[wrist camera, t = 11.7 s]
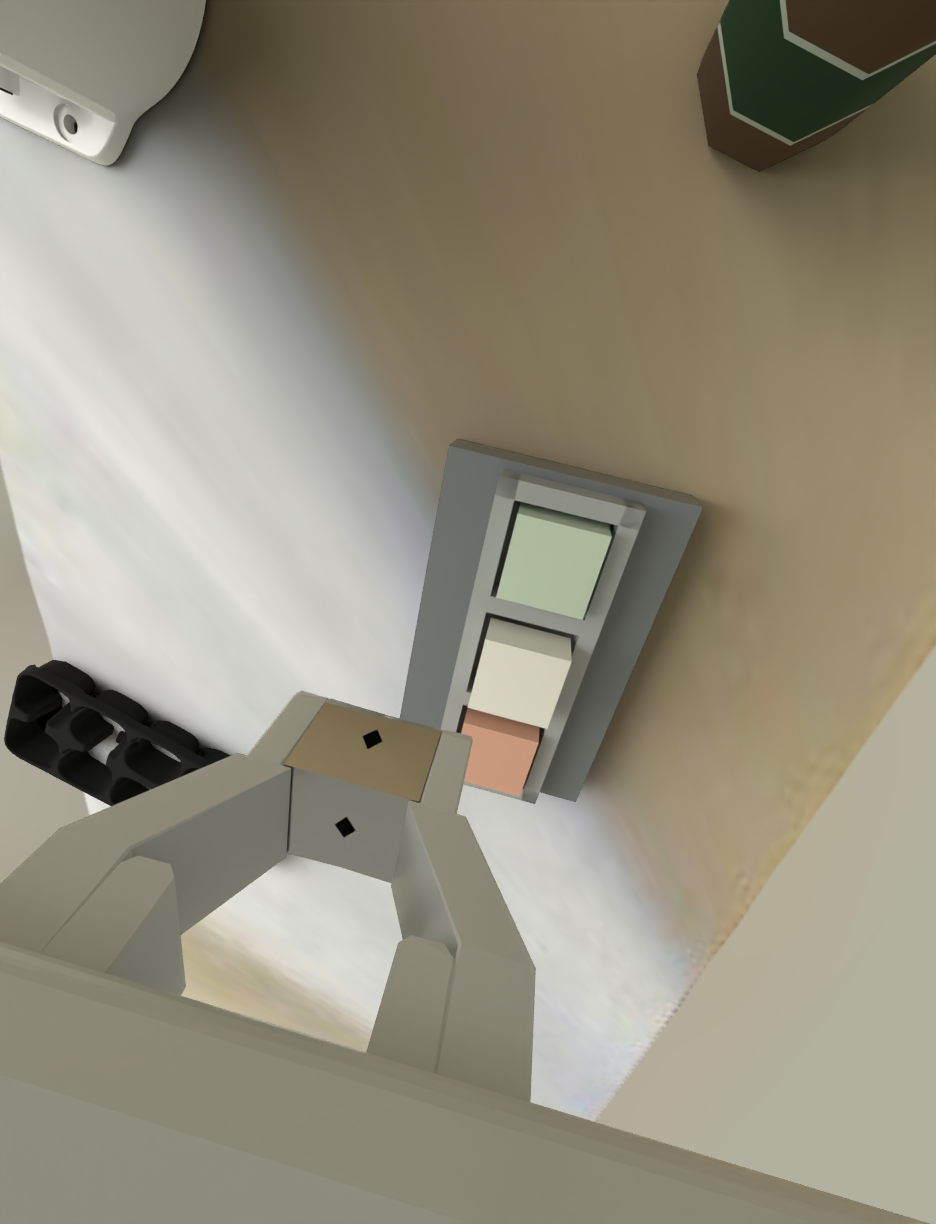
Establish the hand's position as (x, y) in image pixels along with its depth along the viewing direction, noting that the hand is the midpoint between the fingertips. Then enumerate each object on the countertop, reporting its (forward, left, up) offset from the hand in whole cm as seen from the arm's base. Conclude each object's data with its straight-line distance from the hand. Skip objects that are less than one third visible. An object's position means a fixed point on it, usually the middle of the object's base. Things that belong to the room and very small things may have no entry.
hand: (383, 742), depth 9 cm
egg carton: (-28, -39, -30) cm, 56 cm away
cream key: (+4, -13, -25) cm, 28 cm away
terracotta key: (+4, -21, -26) cm, 34 cm away
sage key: (+4, -5, -26) cm, 27 cm away
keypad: (+4, -13, -29) cm, 32 cm away
